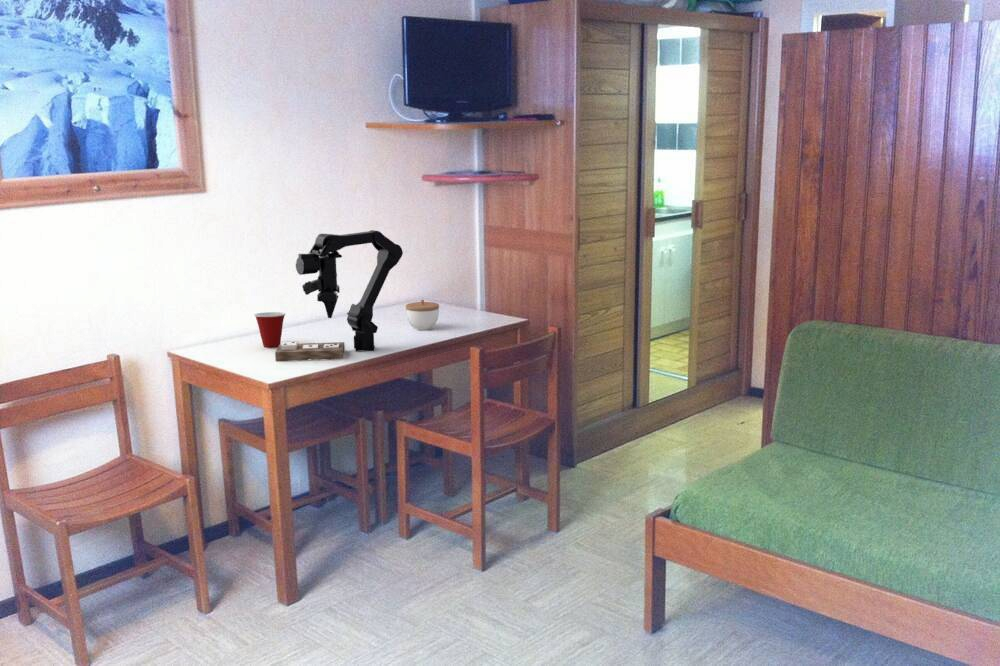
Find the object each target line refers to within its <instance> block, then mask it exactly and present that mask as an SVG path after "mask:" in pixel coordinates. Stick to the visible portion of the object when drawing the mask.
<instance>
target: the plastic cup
mask: <svg viewBox="0 0 1000 666" xmlns="http://www.w3.org/2000/svg"><path fill="white" fill-rule="evenodd" d="M253 316H254V317H255V319H256V323H257V325H258V331H259V334H260V338H261V342H262V345H263V347H264V348H267V349H268V348H269V349H271V348H273V349H274V348H278V346H279V344H282V342H281V340H282V334H283V324H284V320H285V316H286V312H280V311H278V312H277V311H273V312H272V311H270V312H269V311H267V312H259V313H258V312H257V313H255V314H253Z"/></svg>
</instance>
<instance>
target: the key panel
mask: <svg viewBox="0 0 1000 666" xmlns="http://www.w3.org/2000/svg"><path fill="white" fill-rule="evenodd" d="M281 344H282V343H280V344H279V346H278V347H276V350H275V352H274V355H275V356H274V357H275V358H274V359H275V362H289V361H288V360H298V361H309V360H308V359H327V360H343V359H344V356H345V352H346V350H345V342H344V341H343V342H342V341H337V342H309V343H308V342H307V343H304V342H302V343H298V347H297V350H281ZM313 344H319V348H318V349H302V348H303V345H313ZM324 344H339V348H328V349H323V347H324ZM344 351H345V352H344Z"/></svg>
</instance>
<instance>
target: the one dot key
mask: <svg viewBox="0 0 1000 666" xmlns="http://www.w3.org/2000/svg"><path fill="white" fill-rule="evenodd" d="M318 348H319V344H313V345H303V348H302V349H318Z"/></svg>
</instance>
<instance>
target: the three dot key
mask: <svg viewBox="0 0 1000 666" xmlns="http://www.w3.org/2000/svg"><path fill="white" fill-rule="evenodd" d="M328 348H339V344H324V347H323V349H328Z"/></svg>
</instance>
